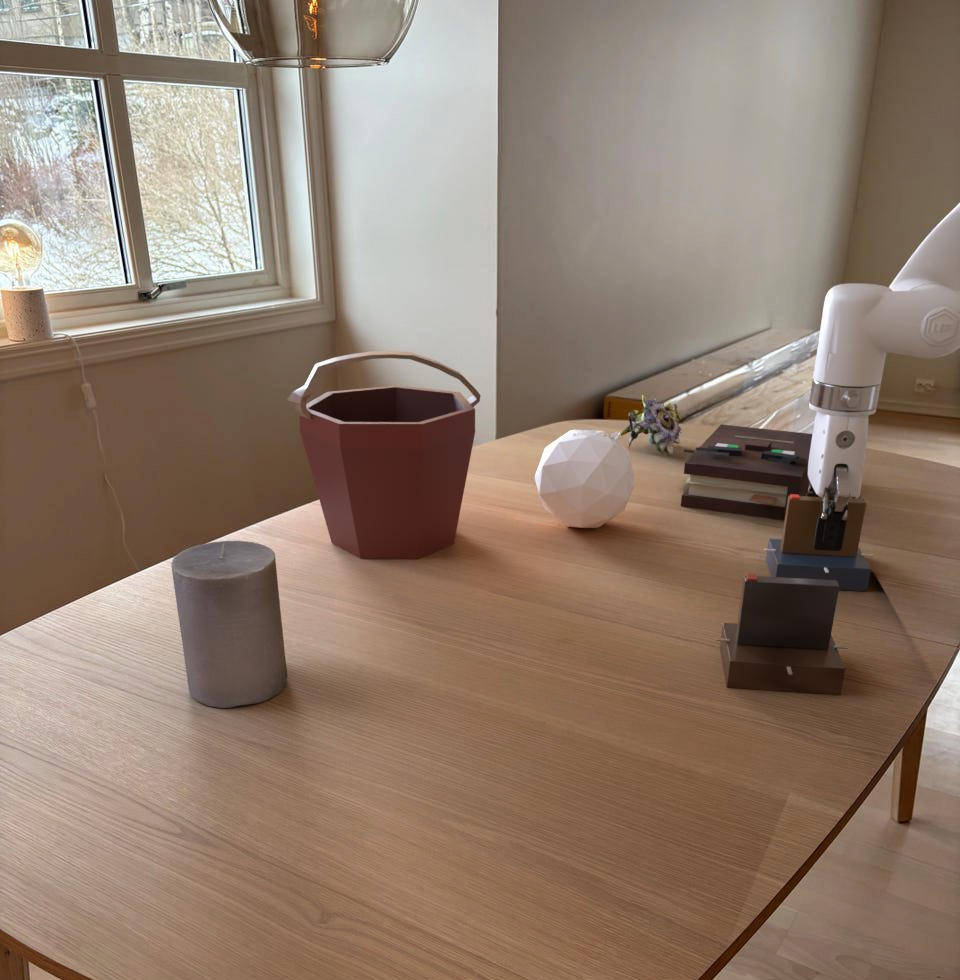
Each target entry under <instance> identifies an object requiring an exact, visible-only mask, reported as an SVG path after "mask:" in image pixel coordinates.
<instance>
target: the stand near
mask: <svg viewBox="0 0 960 980" xmlns="http://www.w3.org/2000/svg"><path fill="white" fill-rule="evenodd" d="M737 624H738V622H737V623H736V622H735V623H734V622H722V624H721V625H722V626H721V634H720V638H719V637H715V638H714V639H715V642H720V643H719V651H720V657H721V662H722V669H723V673H724V680H725V684H726V688H730V689H743V690H744V689H745V690H758V691H759V690H760V691H773V692H788V693H791V692H792V693H804V694H818V695H833V696H841V693H842V689H843V685H844V684H843V683H844V679H845V678H844V677H845V673H846V666H845V664H844V662H843V659H842V657H841V654H840V652H839V650H849V649H850V648H849V646H848V645H847V646H846V645H836V643H835V640H834V638H833V636H832V634H831V637H830V643H829V648H828V650H819V649H803V648H787V647H771V646H755V645H739V644H737V641H736V632H737Z"/></svg>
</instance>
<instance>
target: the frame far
mask: <svg viewBox="0 0 960 980" xmlns="http://www.w3.org/2000/svg"><path fill="white" fill-rule="evenodd" d="M831 501H834V500H828V507H829V504H830V503H831ZM821 504H822V498H821V497H808V496H799V494H790V496H788V501H787V507H786V514H785V520H783V521H784V522H783V529H782V536H781V539H782V542H781V551H782V553H794V554H812V555H830V556H848V557H857V551H858V547H859V546H860V540H861V535H862V529H863V525H864V524H863V523H864V518H865V513H866V508H867V502H866V500H865V499H864V498H857V499H852V498H850V497H849V498H848V506H847V507H848V510H847V521H846V527H845V533H844V538H843V544H842V549H841V550H840V551H829V550H816V549H815V548H814V539H815V533H816V527H817V520H818V517H821Z"/></svg>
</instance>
